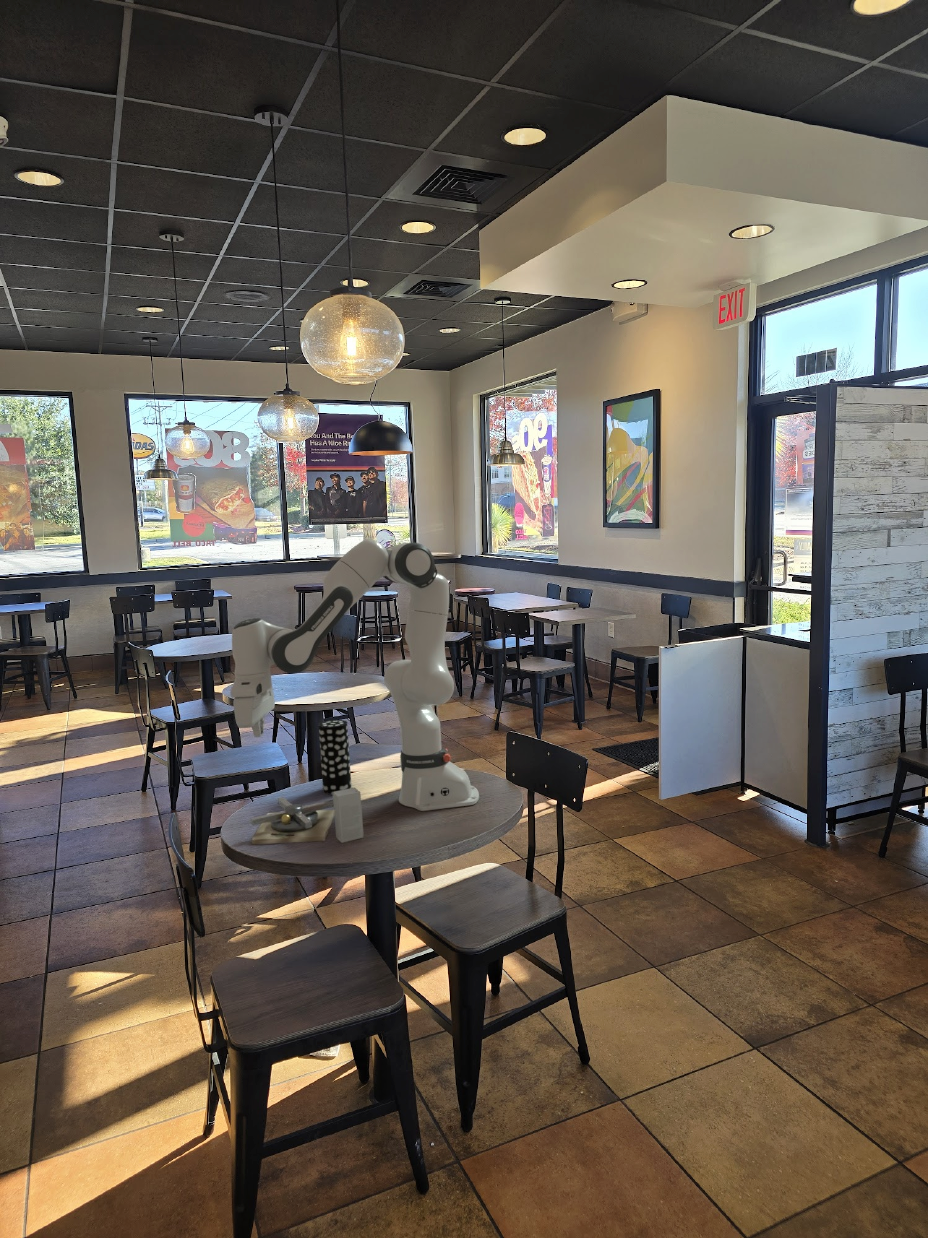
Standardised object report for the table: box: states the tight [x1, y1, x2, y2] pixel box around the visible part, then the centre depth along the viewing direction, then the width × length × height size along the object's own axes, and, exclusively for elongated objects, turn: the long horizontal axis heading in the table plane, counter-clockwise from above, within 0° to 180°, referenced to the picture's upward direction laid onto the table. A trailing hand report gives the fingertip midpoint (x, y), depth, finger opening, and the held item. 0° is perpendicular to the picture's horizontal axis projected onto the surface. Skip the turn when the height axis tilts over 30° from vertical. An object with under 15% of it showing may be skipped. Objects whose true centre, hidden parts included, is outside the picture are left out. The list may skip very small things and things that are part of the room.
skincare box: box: [332, 786, 365, 843], centre depth 198 cm, size 6×4×12 cm
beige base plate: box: [251, 809, 335, 845], centre depth 206 cm, size 18×18×1 cm
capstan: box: [250, 797, 334, 832], centre depth 206 cm, size 17×17×4 cm
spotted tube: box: [318, 719, 352, 795], centre depth 234 cm, size 8×8×20 cm
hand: (259, 735), depth 205 cm, fingers closed
